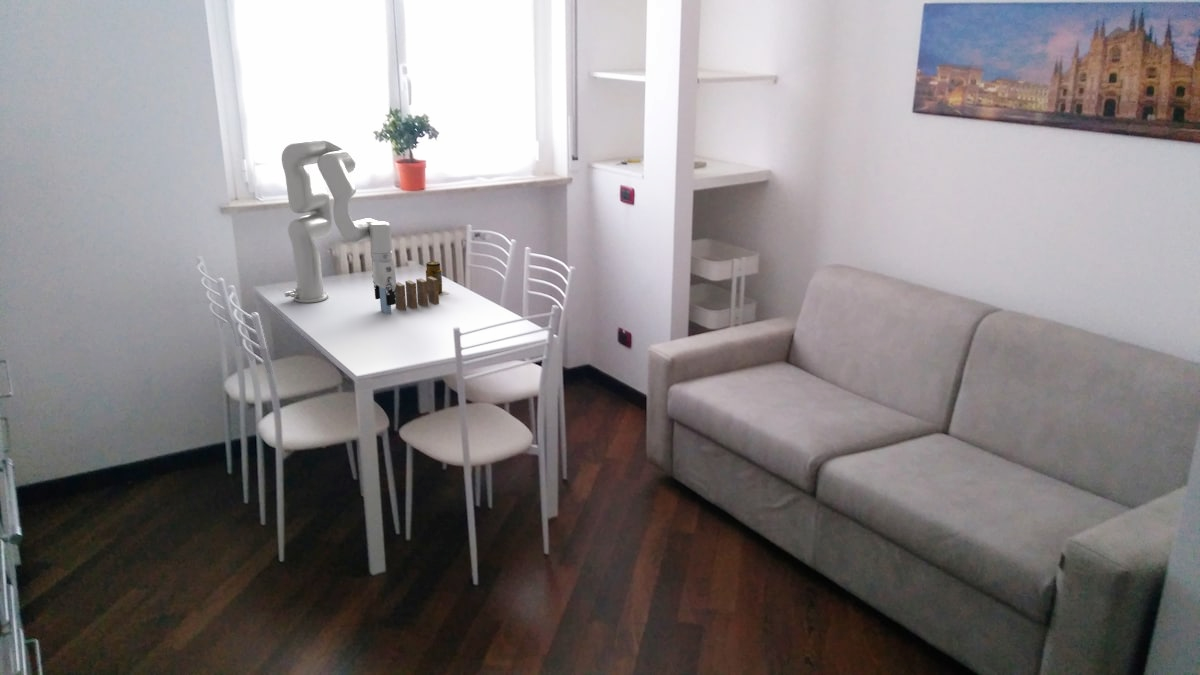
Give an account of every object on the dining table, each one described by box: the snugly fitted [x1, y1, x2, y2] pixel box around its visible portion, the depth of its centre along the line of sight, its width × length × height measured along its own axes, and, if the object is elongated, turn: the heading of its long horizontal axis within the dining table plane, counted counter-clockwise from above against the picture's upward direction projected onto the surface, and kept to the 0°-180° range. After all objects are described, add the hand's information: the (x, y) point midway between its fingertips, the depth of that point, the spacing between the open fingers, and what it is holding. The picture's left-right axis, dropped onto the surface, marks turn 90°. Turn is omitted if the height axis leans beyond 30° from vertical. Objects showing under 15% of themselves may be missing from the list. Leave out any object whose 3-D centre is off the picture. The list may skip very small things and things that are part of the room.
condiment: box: [425, 261, 449, 296], centre depth 358 cm, size 7×8×12 cm
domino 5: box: [427, 276, 440, 305], centre depth 347 cm, size 2×5×10 cm, turn 37°
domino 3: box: [405, 279, 418, 309], centre depth 341 cm, size 2×5×10 cm, turn 37°
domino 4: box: [415, 278, 429, 307], centre depth 344 cm, size 2×5×10 cm, turn 37°
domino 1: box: [379, 286, 392, 315], centre depth 335 cm, size 2×5×10 cm, turn 37°
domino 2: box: [395, 281, 407, 312], centre depth 339 cm, size 2×5×10 cm, turn 38°
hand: (385, 301), depth 336 cm, fingers open, 9 cm apart
